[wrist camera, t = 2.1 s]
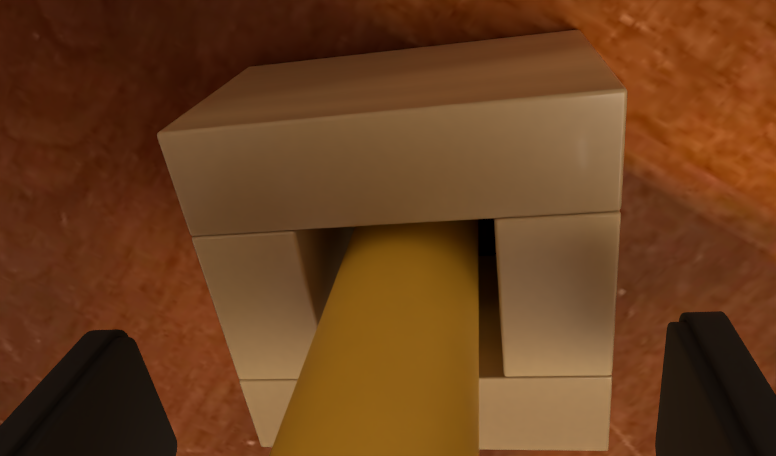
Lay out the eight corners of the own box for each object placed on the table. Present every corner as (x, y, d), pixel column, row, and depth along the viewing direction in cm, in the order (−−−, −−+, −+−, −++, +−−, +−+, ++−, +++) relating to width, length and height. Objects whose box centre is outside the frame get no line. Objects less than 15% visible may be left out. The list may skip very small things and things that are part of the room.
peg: (361, 152, 16) (221, 460, 7) (474, 144, 15) (470, 463, 7) (378, 248, 17) (277, 602, 9) (481, 243, 17) (486, 615, 8)
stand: (247, 66, 15) (153, 133, 11) (580, 28, 14) (628, 88, 9) (310, 322, 19) (260, 447, 15) (576, 314, 17) (608, 451, 13)
